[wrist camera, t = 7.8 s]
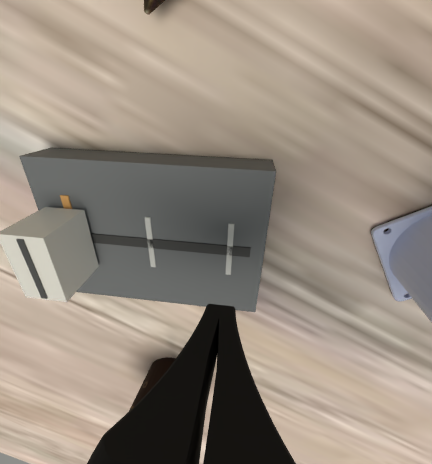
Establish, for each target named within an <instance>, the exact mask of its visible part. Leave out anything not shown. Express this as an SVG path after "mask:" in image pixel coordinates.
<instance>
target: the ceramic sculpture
mask: <svg viewBox="0 0 432 464" xmlns="http://www.w3.org/2000/svg"><path fill="white" fill-rule="evenodd" d="M164 1H165V0H144V11H145V13H146V14H150V13H151V12H152V11H154V10H155V9H156V8H157V7H158V6H159V5H160V4H162V3H163V2H164Z"/></svg>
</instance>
